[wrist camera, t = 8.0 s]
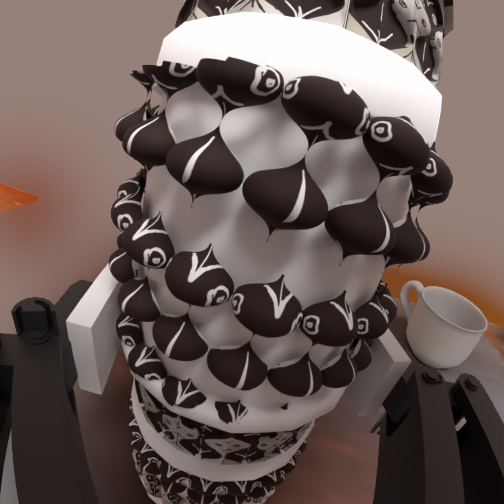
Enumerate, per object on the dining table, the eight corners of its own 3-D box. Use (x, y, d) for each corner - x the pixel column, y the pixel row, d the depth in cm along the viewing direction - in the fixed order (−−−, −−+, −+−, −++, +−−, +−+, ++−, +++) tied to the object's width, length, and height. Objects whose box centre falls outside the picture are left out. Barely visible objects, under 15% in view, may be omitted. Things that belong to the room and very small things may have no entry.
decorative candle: (116, 510, 10) (150, -136, 1) (151, 403, 18) (208, -4, 9) (276, 537, 10) (533, -18, 1) (273, 426, 19) (398, 45, 10)
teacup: (470, 369, 30) (498, 322, 27) (432, 389, 26) (468, 333, 23) (413, 318, 42) (434, 274, 39) (369, 323, 38) (391, 272, 35)
